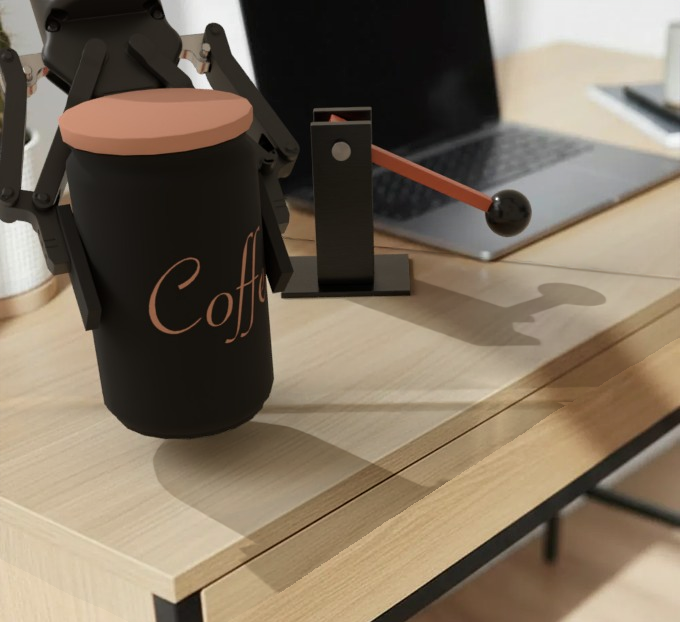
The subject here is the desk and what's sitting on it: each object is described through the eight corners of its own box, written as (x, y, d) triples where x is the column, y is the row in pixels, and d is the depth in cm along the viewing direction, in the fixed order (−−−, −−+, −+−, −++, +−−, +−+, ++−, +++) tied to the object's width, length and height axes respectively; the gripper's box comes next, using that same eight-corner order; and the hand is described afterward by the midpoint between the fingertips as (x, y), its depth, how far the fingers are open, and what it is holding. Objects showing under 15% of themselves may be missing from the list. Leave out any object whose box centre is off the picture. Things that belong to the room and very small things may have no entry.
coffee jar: (168, 464, 69) (125, 150, 59) (72, 404, 76) (20, 114, 66) (310, 402, 75) (292, 107, 65) (209, 352, 82) (179, 78, 72)
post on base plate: (408, 270, 100) (407, 100, 93) (410, 308, 93) (409, 128, 86) (288, 273, 100) (278, 104, 93) (281, 311, 94) (270, 132, 86)
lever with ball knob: (515, 235, 96) (537, 194, 94) (520, 250, 93) (542, 209, 91) (317, 147, 93) (335, 104, 91) (314, 161, 89) (333, 116, 88)
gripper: (254, -8, 80) (357, 291, 76) (-106, 33, 73) (-12, 367, 69) (276, -90, 73) (392, 235, 69) (-119, -53, 66) (-15, 313, 62)
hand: (190, 301), depth 69 cm, fingers closed on coffee jar, 11 cm apart
